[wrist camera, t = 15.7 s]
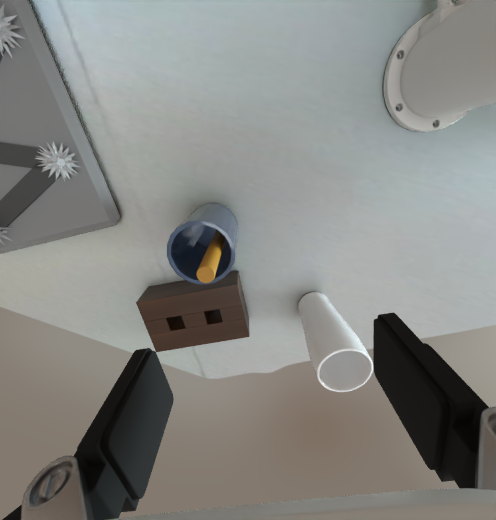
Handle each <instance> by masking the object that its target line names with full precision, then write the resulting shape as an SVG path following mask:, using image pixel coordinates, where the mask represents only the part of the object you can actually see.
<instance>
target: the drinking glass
mask: <svg viewBox="0 0 496 520" xmlns="http://www.w3.org/2000/svg"><path fill="white" fill-rule="evenodd" d="M298 310H299V313H300V316H301V320H302V325H303V329H304V334H305V339H306V344H307V348H308V352H309V356H310V359H311V363H312V365H313V368H314V370H315V373H316V375H317V378H318V380H319V382H320V383H321V385H322V386H324V387H325V388H327V389H329V390H331V391H336V392H346V391H351V390H354V389H357V388H358V387H361V386H362V385H363V384H365V383H366V382H367V381H368V379H369V378H370V376H371V375H372V372H373V362H372V360H371V358H370V356H369V354H368V352H367V351H366V349H365V347H364V346H363V344H362V342H361V341H360V339H359V338H358V337H357V335H356V334H355V333H354V331H353V330H352V329H351V327H350V326H349V325H348V324H347V323H346V321H345V320H344V319H343V318H342V317H341V315H340V314H339V313H338V312H337V310H336V309H335V308H334V307H333V305H332V304H331V303H330V301H329V300H328V298H327V297H326V296H325V295H324V294H322V293H319V292H311V293H308V294H306V295H304V296H303V297H302V298H301V300H300V302H299V305H298Z"/></svg>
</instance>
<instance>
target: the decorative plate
mask: <svg viewBox="0 0 496 520" xmlns="http://www.w3.org/2000/svg"><path fill="white" fill-rule="evenodd" d="M119 218H120V214H119V212H118V210H117V207H116V205H115V203H114V200H113V198H112V196H111V193H110V191H109V188H108V186H107V184H106V181H105V179H104V177H103V174H102V172H101V170H100V167H99V165H98V163H97V160H96V158H95V156H94V153H93V151H92V148H91V146H90V144H89V141H88V139H87V137H86V134H85V132H84V130H83V127H82V125H81V123H80V120H79V118H78V116H77V113H76V111H75V109H74V106H73V104H72V101H71V99H70V97H69V94H68V92H67V90H66V87H65V85H64V83H63V80H62V78H61V76H60V73H59V71H58V69H57V66H56V64H55V61H54V59H53V57H52V54H51V52H50V50H49V47H48V45H47V43H46V40H45V38H44V36H43V33H42V31H41V29H40V26H39V24H38V22H37V19H36V17H35V14H34V12H33V10H32V7H31V5H30V3H29V0H0V254H1V253H5V252H9V251H13V250H17V249H21V248H26V247H30V246H34V245H38V244H42V243H46V242H50V241H54V240H58V239H62V238H66V237H70V236H74V235H78V234H82V233H86V232H90V231H94V230H98V229H102V228H106V227H110V226H114V225H117V223H118V221H119Z"/></svg>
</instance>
